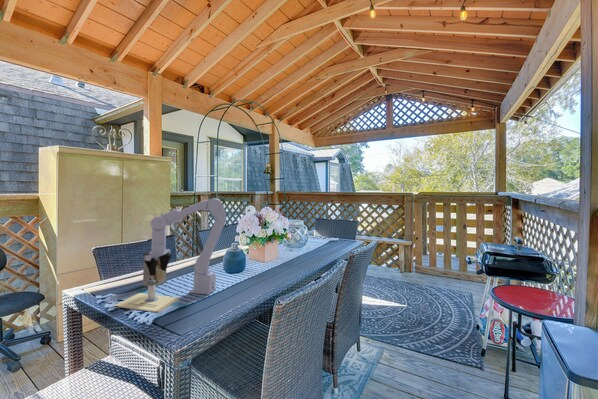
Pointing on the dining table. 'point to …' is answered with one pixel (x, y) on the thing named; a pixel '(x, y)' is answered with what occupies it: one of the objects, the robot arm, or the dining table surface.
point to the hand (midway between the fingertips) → (158, 272)
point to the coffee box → (159, 275)
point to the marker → (151, 290)
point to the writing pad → (147, 302)
